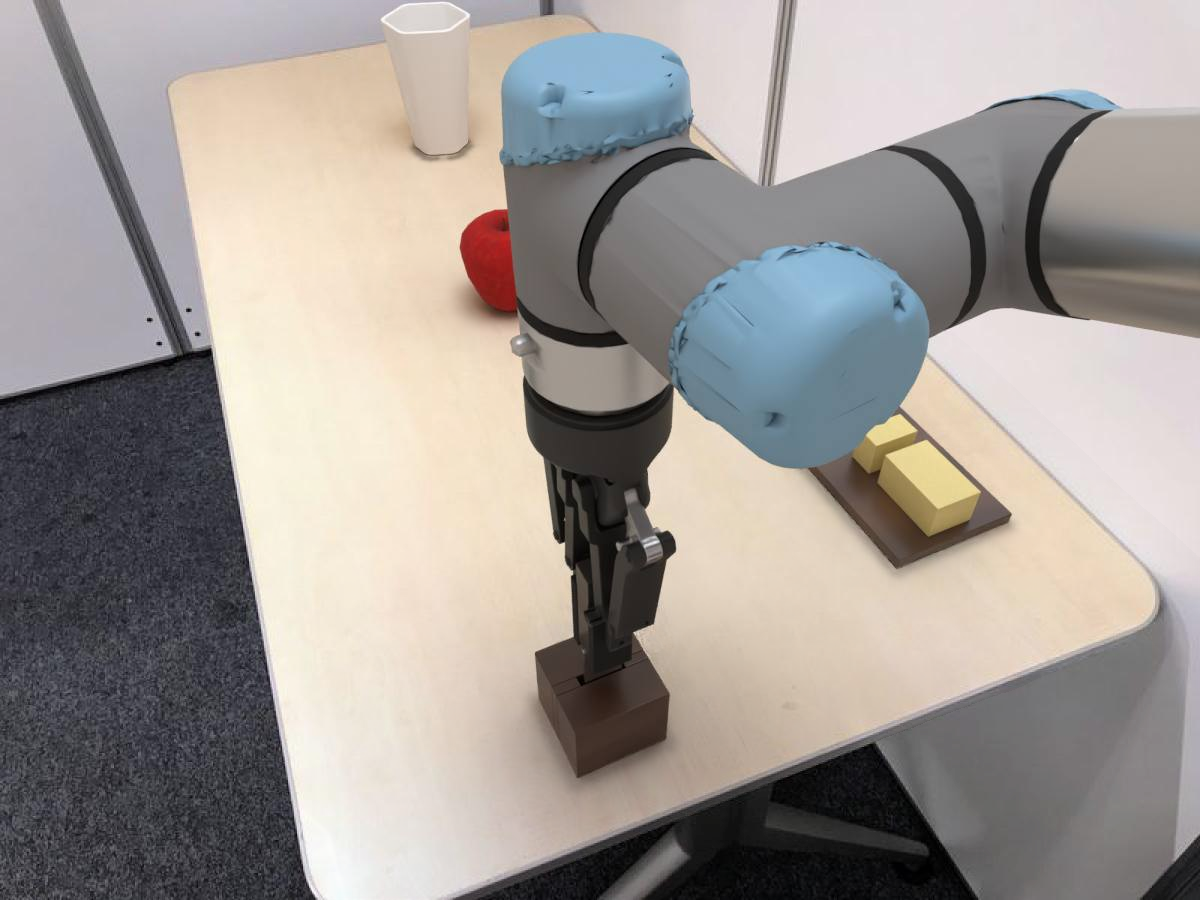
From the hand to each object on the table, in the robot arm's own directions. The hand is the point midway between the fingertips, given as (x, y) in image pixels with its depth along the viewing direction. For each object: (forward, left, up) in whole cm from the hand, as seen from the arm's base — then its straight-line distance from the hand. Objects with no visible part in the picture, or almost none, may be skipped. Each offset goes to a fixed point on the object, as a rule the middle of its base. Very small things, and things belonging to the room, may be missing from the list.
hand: (602, 647), depth 64 cm
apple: (+51, -13, -9) cm, 54 cm away
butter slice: (+13, -34, -8) cm, 37 cm away
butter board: (+10, -34, -9) cm, 37 cm away
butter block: (+7, -34, -8) cm, 36 cm away
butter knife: (0, 0, -7) cm, 7 cm away
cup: (+90, -18, -9) cm, 92 cm away
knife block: (0, 0, -9) cm, 9 cm away
